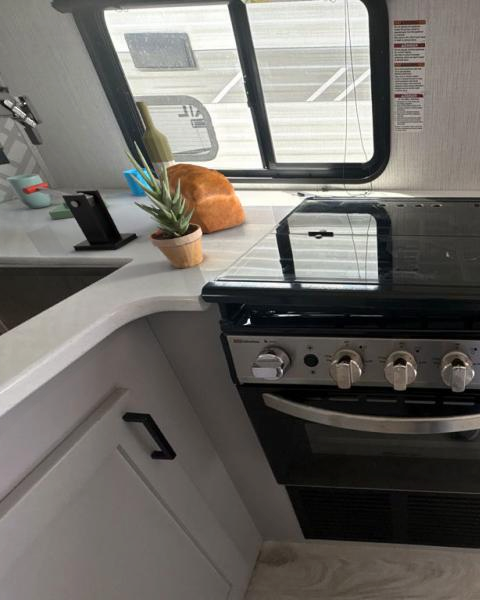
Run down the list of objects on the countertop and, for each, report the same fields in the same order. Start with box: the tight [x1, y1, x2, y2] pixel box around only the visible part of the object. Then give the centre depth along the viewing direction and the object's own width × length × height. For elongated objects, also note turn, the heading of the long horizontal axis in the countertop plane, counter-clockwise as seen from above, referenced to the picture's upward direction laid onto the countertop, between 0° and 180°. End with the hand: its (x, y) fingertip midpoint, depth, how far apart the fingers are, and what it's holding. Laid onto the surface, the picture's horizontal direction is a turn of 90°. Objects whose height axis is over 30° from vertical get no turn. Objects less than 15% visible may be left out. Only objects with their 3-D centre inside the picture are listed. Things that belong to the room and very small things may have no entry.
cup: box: [6, 173, 52, 209], centre depth 111 cm, size 8×8×10 cm
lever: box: [22, 182, 95, 207], centre depth 77 cm, size 12×5×2 cm, turn 92°
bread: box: [158, 162, 246, 234], centre depth 93 cm, size 14×26×16 cm, turn 49°
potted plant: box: [124, 140, 204, 269], centre depth 67 cm, size 10×10×25 cm
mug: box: [122, 167, 152, 197], centre depth 123 cm, size 12×8×8 cm
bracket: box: [62, 189, 138, 252], centre depth 80 cm, size 10×8×13 cm
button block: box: [48, 198, 109, 221], centre depth 106 cm, size 12×10×4 cm
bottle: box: [135, 101, 177, 182], centre depth 112 cm, size 7×7×30 cm
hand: (19, 147), depth 78 cm, fingers open, 8 cm apart
